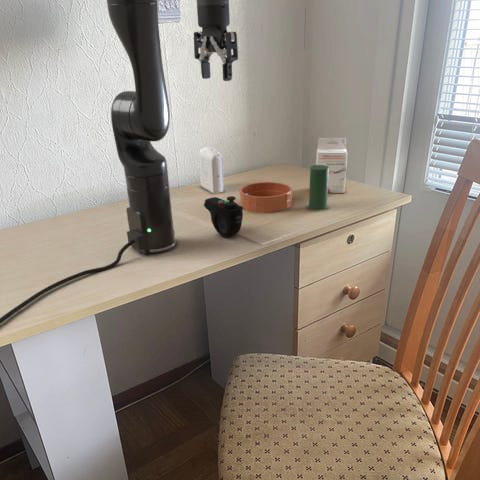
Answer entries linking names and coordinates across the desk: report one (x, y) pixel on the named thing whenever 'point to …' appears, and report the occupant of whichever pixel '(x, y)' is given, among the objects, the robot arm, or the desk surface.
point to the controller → (225, 215)
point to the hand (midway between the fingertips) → (216, 79)
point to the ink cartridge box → (333, 162)
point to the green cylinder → (318, 187)
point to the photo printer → (211, 170)
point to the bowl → (265, 197)
